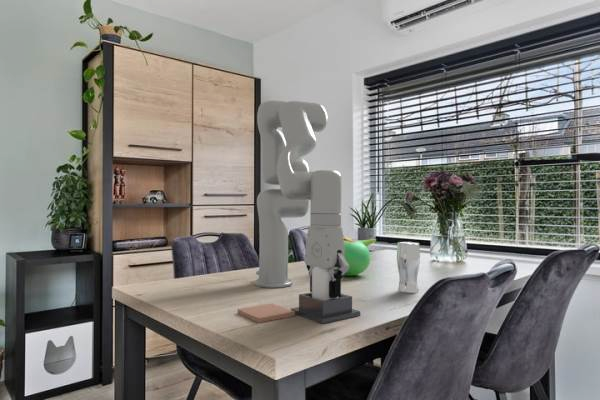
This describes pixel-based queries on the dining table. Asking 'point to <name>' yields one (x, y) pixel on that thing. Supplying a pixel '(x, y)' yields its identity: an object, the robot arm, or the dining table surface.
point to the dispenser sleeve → (325, 308)
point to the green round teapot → (357, 255)
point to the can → (321, 283)
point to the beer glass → (408, 266)
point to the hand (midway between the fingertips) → (325, 293)
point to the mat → (265, 312)
